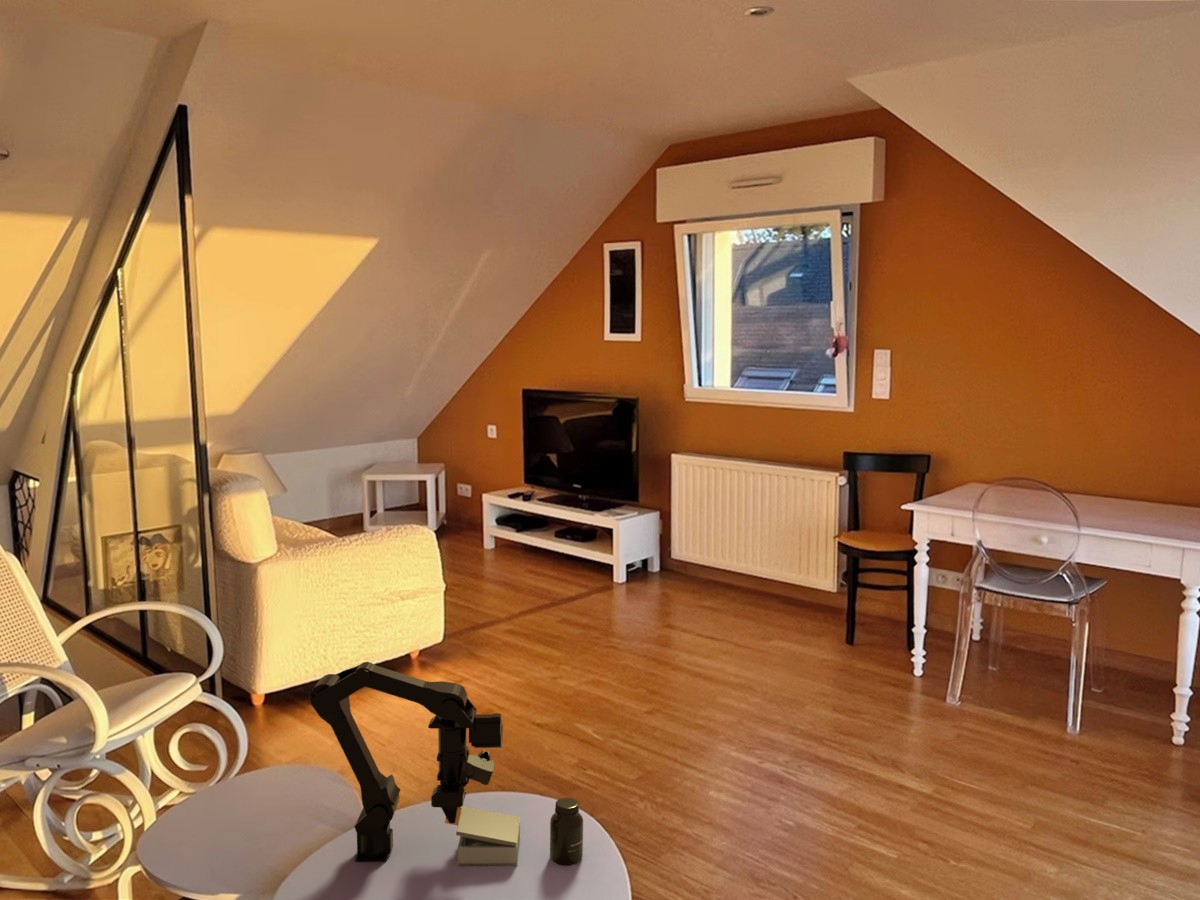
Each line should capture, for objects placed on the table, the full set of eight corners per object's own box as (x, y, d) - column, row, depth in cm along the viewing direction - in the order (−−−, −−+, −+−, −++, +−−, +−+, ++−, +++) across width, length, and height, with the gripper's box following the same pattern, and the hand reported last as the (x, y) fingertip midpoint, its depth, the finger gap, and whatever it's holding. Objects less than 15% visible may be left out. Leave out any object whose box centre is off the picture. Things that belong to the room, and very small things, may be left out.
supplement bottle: (578, 869, 191) (579, 812, 190) (546, 865, 193) (546, 809, 191) (586, 851, 198) (586, 796, 197) (554, 847, 199) (554, 793, 198)
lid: (441, 836, 191) (445, 813, 190) (448, 811, 201) (452, 789, 201) (515, 850, 191) (519, 828, 191) (518, 824, 202) (523, 803, 201)
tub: (457, 866, 192) (457, 847, 191) (463, 840, 202) (463, 822, 201) (517, 866, 192) (517, 847, 192) (520, 840, 202) (520, 822, 201)
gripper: (487, 767, 185) (487, 842, 187) (495, 728, 203) (496, 797, 205) (430, 767, 185) (431, 842, 186) (443, 728, 203) (444, 797, 205)
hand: (453, 818), depth 196 cm, fingers closed on lid, 3 cm apart
